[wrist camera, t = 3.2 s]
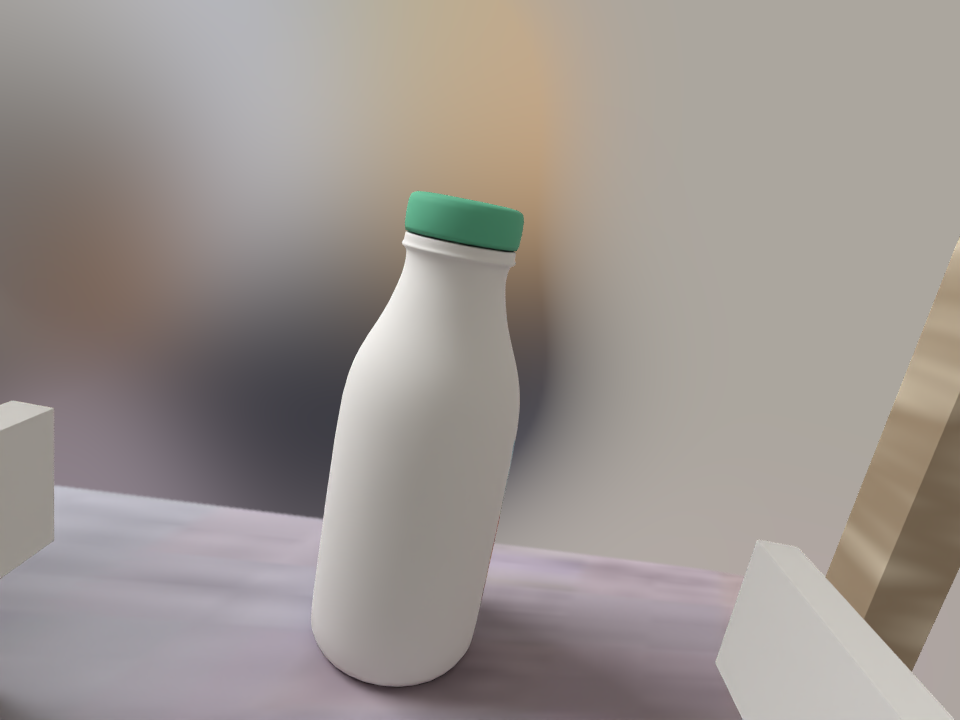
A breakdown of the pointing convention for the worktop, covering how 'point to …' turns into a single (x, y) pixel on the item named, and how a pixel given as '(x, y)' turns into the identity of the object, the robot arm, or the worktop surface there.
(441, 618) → the milk bottle
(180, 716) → the worktop surface
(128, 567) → the worktop surface
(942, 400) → the door frame
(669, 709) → the worktop surface
